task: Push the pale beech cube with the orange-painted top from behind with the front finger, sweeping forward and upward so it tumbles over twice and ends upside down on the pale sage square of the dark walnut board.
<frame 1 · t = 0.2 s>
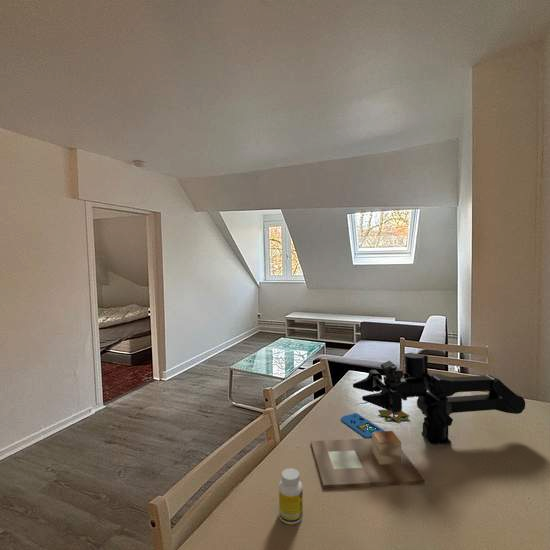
hand: (357, 391, 102), 16 cm above the table, tool horizontal, fingers open, 9 cm apart
supplement bottle: (290, 516, 74), on the table
beech block: (386, 457, 93), point 1 cm above the table, touching walnut board
walnut board: (362, 461, 93), on the table
handheld gaming device: (361, 427, 113), on the table
lily flower: (393, 417, 120), on the table
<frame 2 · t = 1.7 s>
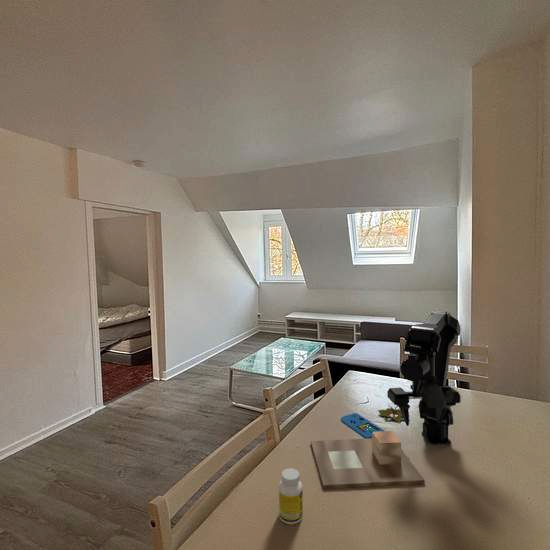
hand: (423, 424, 93), 10 cm above the table, tool pointing down, fingers open, 9 cm apart
nothing on the table moved.
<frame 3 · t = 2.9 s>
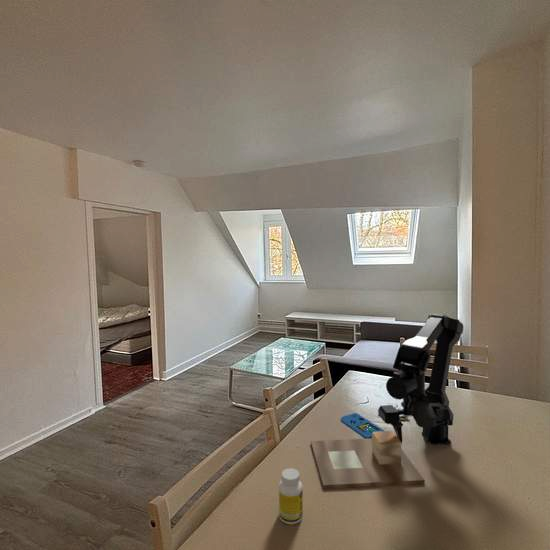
hand: (414, 442, 93), 5 cm above the table, tool pointing down, fingers open, 8 cm apart
beech block: (386, 457, 93), point 1 cm above the table, touching gripper, walnut board
everything else where it was.
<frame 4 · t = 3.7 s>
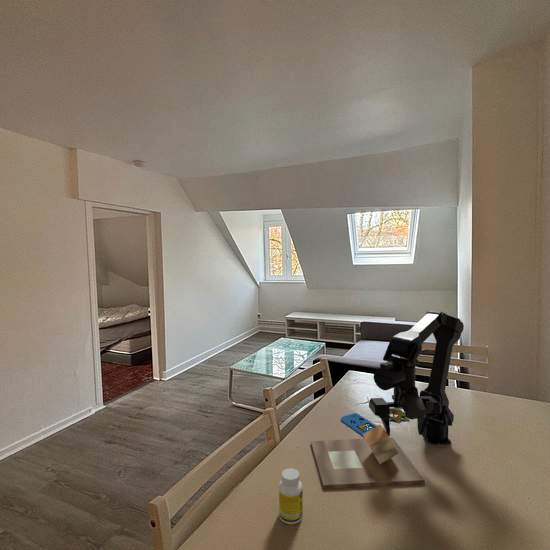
hand: (404, 435, 93), 7 cm above the table, tool pointing down, fingers open, 9 cm apart
beech block: (385, 452, 93), point 2 cm above the table, tilted 28°, touching gripper, walnut board
everything else where it was.
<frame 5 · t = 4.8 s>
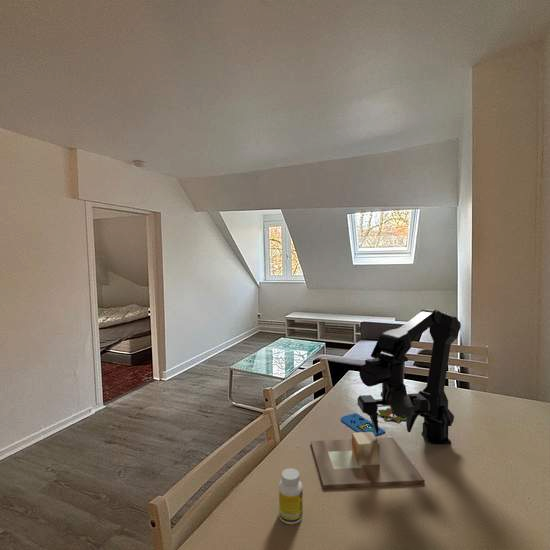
hand: (392, 432, 93), 8 cm above the table, tool pointing down, fingers open, 9 cm apart
beech block: (375, 447, 93), point 4 cm above the table, tilted 90°, touching walnut board
everything else where it was.
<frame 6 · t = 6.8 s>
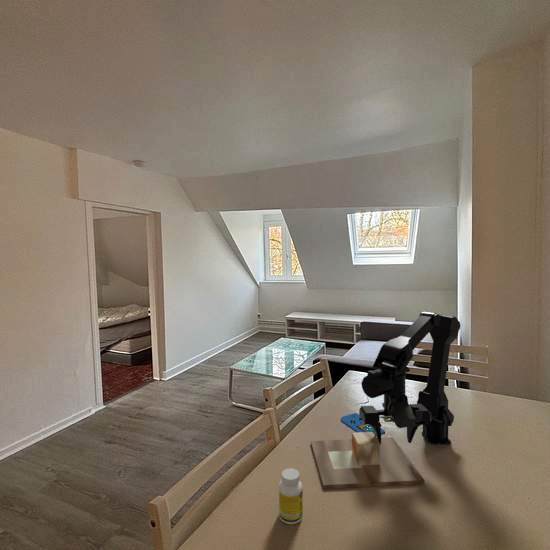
hand: (394, 443, 93), 5 cm above the table, tool pointing down, fingers open, 8 cm apart
beech block: (375, 447, 93), point 4 cm above the table, tilted 90°, touching gripper, walnut board
everything else where it was.
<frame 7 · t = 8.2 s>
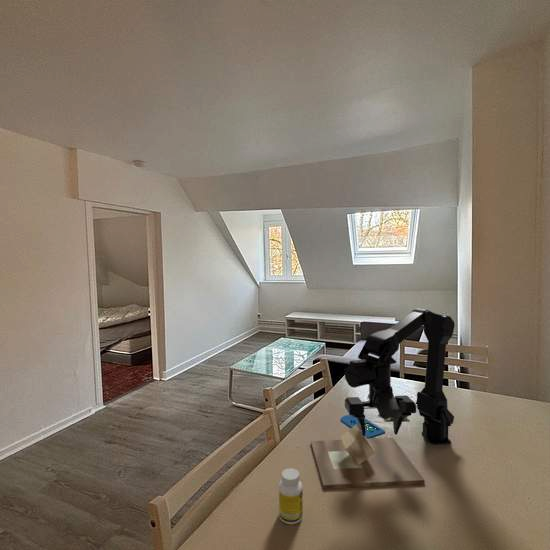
hand: (379, 434, 93), 8 cm above the table, tool pointing down, fingers open, 9 cm apart
beech block: (365, 437, 93), point 7 cm above the table, tilted 127°, touching gripper, walnut board
everything else where it was.
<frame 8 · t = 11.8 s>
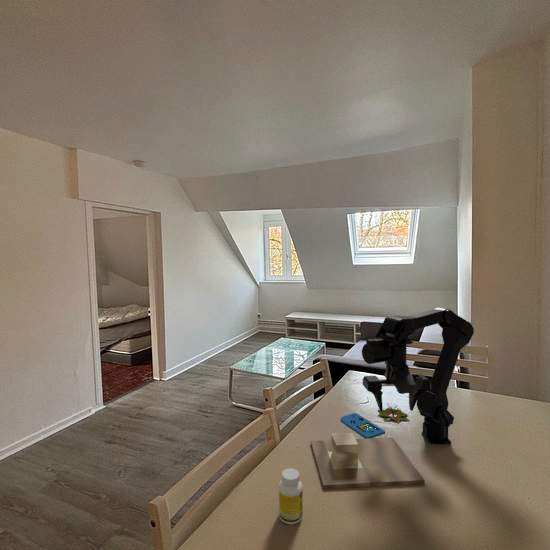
hand: (396, 410, 98), 12 cm above the table, tool pointing down, fingers open, 9 cm apart
beech block: (344, 438, 92), point 7 cm above the table, tilted 180°, touching walnut board
everything else where it was.
at the end: beech block tilted 180°; beech block inside the target area (0.0 cm from its centre), point 7.0 cm above the table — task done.
